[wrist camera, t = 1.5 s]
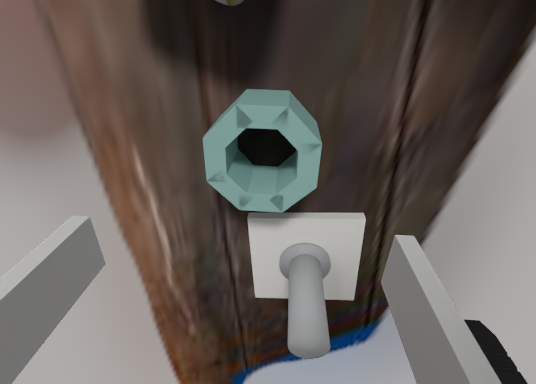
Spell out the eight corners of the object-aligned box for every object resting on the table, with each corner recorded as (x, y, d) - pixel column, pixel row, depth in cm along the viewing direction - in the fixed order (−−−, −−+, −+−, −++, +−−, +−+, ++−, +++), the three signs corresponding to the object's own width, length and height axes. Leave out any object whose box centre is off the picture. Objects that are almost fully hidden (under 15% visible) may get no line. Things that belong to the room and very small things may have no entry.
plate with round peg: (248, 212, 28) (229, 294, 20) (363, 212, 27) (396, 299, 19) (256, 290, 34) (243, 381, 25) (352, 293, 33) (373, 388, 24)
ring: (268, 66, 22) (262, 77, 17) (334, 142, 24) (343, 167, 20) (201, 135, 25) (181, 159, 20) (265, 196, 27) (260, 228, 23)
